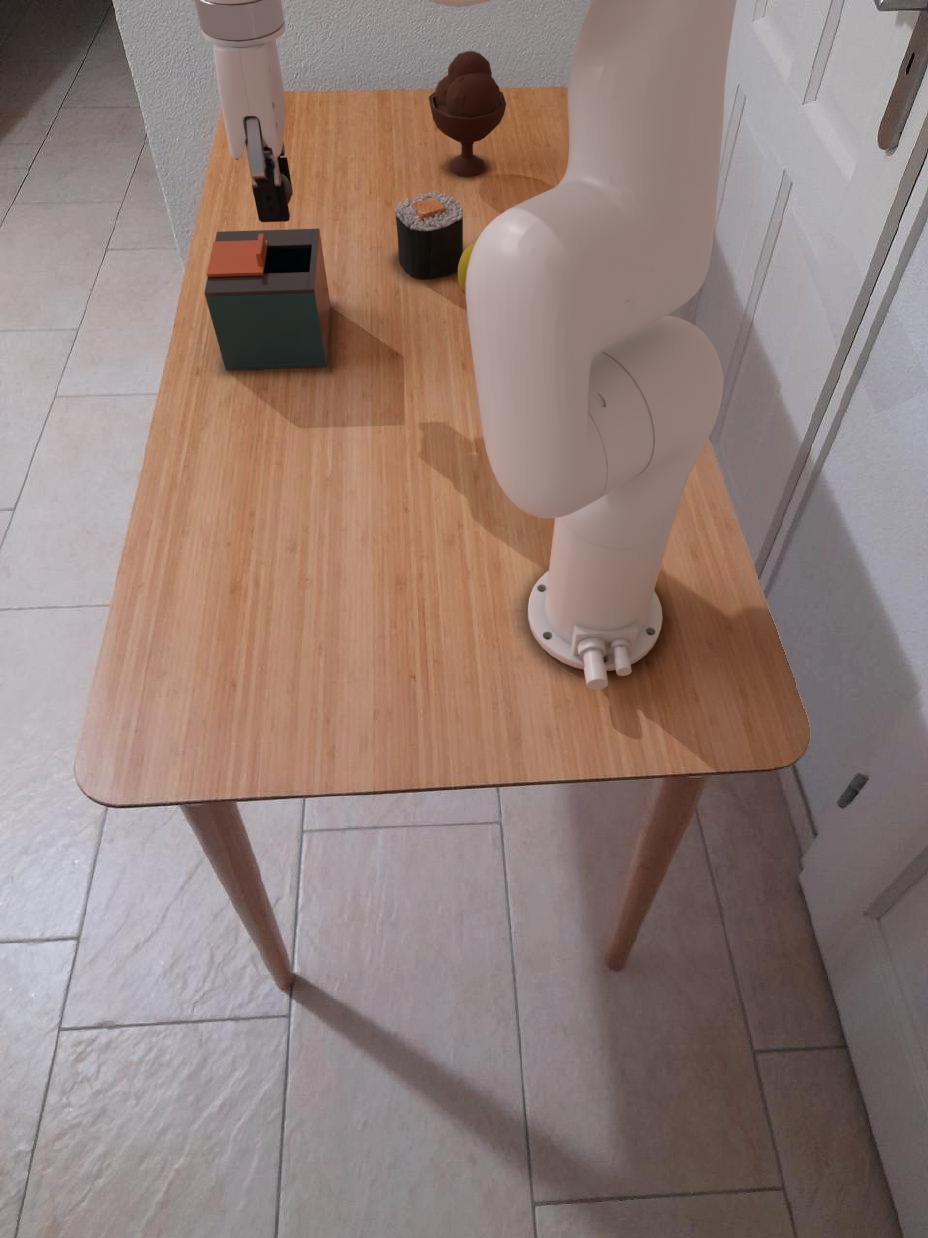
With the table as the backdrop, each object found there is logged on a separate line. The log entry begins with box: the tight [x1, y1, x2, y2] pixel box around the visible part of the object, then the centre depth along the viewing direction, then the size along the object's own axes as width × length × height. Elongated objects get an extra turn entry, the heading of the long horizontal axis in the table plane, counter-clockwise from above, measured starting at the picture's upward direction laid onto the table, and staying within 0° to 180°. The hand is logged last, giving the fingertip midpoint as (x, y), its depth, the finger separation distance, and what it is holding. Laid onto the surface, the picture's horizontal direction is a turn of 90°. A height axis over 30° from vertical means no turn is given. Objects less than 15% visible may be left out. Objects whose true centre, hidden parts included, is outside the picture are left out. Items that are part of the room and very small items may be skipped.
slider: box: [206, 234, 268, 277], centre depth 99 cm, size 6×6×2 cm
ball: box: [252, 169, 293, 205], centre depth 92 cm, size 4×4×4 cm
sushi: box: [393, 191, 464, 281], centre depth 114 cm, size 8×8×8 cm
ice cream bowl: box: [428, 50, 507, 178], centre depth 125 cm, size 11×11×15 cm
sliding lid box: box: [203, 228, 332, 371], centre depth 104 cm, size 12×12×10 cm
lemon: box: [457, 243, 475, 296], centre depth 109 cm, size 6×6×8 cm
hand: (276, 206), depth 93 cm, fingers closed on ball, 3 cm apart
